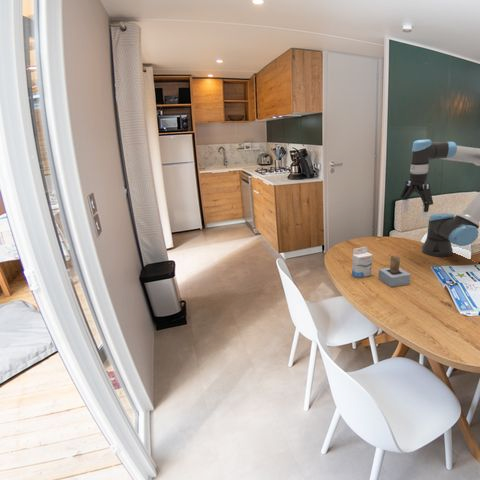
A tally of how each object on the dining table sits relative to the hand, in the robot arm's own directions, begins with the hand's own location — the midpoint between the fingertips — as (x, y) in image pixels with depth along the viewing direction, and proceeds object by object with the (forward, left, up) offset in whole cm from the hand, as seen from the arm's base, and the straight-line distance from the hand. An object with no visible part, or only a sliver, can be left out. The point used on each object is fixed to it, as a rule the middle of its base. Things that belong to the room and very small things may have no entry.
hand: (414, 214), depth 154 cm
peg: (+18, +13, -28) cm, 35 cm away
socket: (+18, +13, -29) cm, 36 cm away
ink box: (+29, +2, -29) cm, 41 cm away
